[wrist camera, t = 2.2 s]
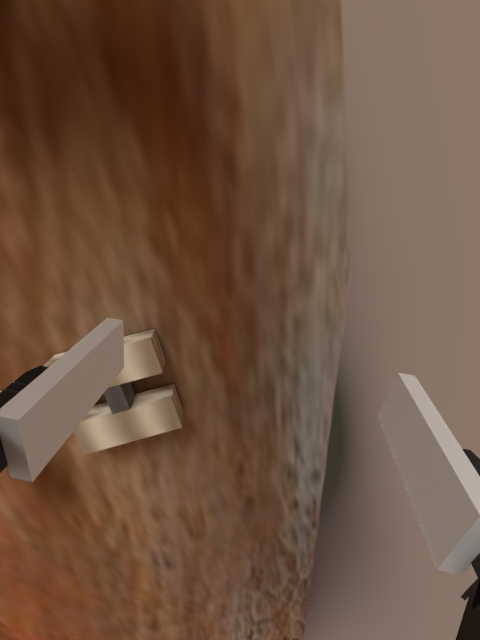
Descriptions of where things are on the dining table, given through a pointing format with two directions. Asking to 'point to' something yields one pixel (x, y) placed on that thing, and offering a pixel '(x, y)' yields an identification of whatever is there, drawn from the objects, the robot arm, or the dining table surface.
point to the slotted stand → (131, 400)
